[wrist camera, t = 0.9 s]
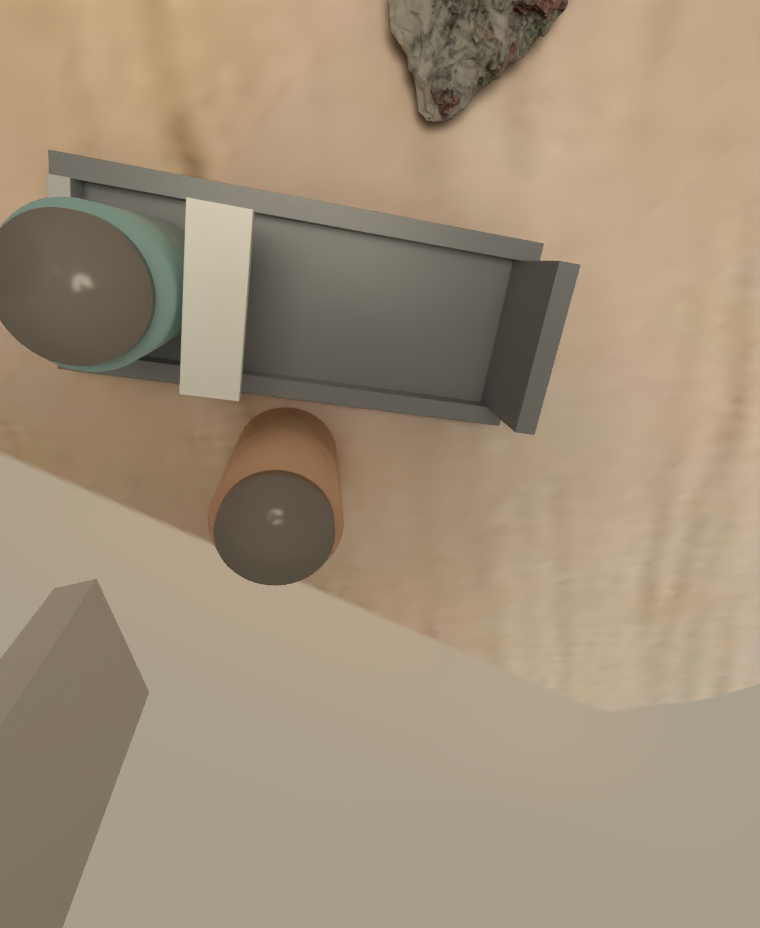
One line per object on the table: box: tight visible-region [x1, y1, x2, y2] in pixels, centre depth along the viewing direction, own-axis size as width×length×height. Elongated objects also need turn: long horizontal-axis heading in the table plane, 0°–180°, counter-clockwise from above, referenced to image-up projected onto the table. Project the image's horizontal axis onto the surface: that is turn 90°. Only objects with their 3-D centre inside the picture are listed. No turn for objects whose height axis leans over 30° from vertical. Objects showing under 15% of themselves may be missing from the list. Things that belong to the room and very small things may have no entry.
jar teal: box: [0, 197, 185, 372], centre depth 23 cm, size 6×6×10 cm
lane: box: [46, 150, 580, 435], centre depth 26 cm, size 24×10×7 cm, turn 81°
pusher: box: [179, 197, 255, 401], centre depth 25 cm, size 2×7×8 cm, turn 171°
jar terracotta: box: [208, 407, 343, 585], centre depth 28 cm, size 6×6×10 cm
